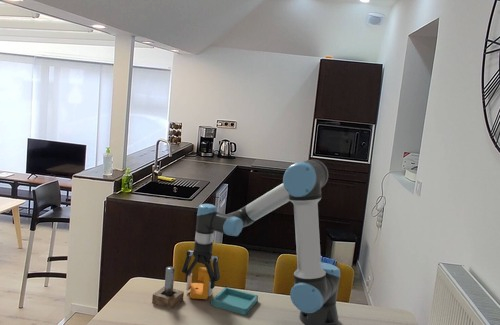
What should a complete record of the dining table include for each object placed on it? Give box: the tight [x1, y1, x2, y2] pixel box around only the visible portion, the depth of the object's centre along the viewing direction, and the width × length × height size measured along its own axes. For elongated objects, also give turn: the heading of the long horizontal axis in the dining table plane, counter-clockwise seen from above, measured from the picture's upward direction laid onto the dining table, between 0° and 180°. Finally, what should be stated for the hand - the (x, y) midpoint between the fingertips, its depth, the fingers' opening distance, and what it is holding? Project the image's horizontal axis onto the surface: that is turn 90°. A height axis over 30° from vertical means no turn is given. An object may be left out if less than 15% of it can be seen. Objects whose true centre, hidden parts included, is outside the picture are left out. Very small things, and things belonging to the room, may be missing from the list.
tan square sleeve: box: [151, 285, 185, 309], centre depth 183 cm, size 9×9×4 cm
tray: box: [210, 286, 259, 316], centre depth 187 cm, size 15×14×2 cm
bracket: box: [189, 266, 210, 300], centre depth 191 cm, size 11×7×12 cm, turn 4°
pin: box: [164, 266, 176, 297], centre depth 182 cm, size 3×3×14 cm
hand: (199, 292), depth 192 cm, fingers closed on bracket, 9 cm apart
